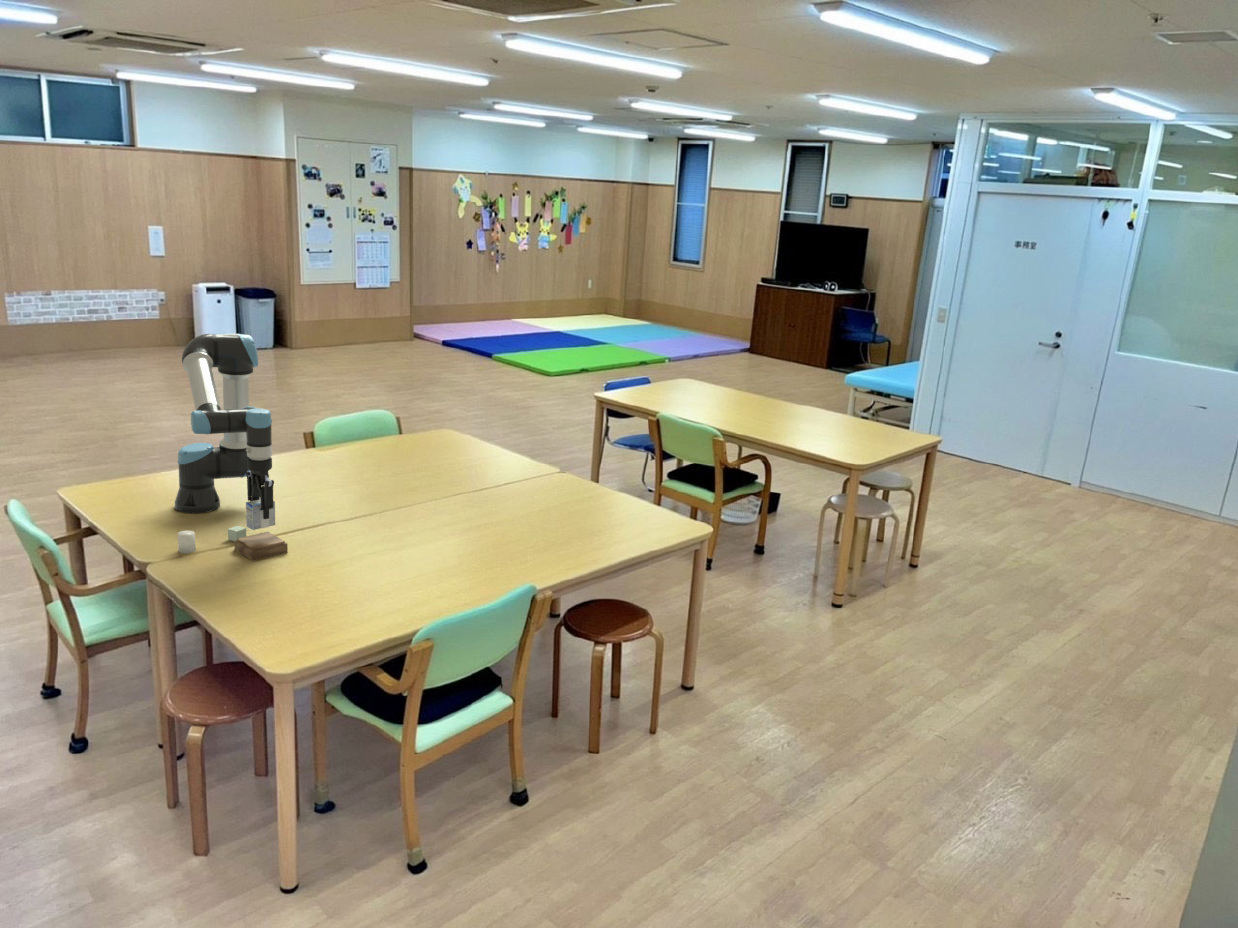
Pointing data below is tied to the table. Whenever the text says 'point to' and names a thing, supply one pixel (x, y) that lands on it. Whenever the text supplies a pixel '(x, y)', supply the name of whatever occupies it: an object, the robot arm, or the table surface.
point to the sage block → (236, 533)
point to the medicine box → (257, 514)
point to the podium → (260, 546)
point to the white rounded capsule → (186, 541)
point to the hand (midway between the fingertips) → (260, 525)
